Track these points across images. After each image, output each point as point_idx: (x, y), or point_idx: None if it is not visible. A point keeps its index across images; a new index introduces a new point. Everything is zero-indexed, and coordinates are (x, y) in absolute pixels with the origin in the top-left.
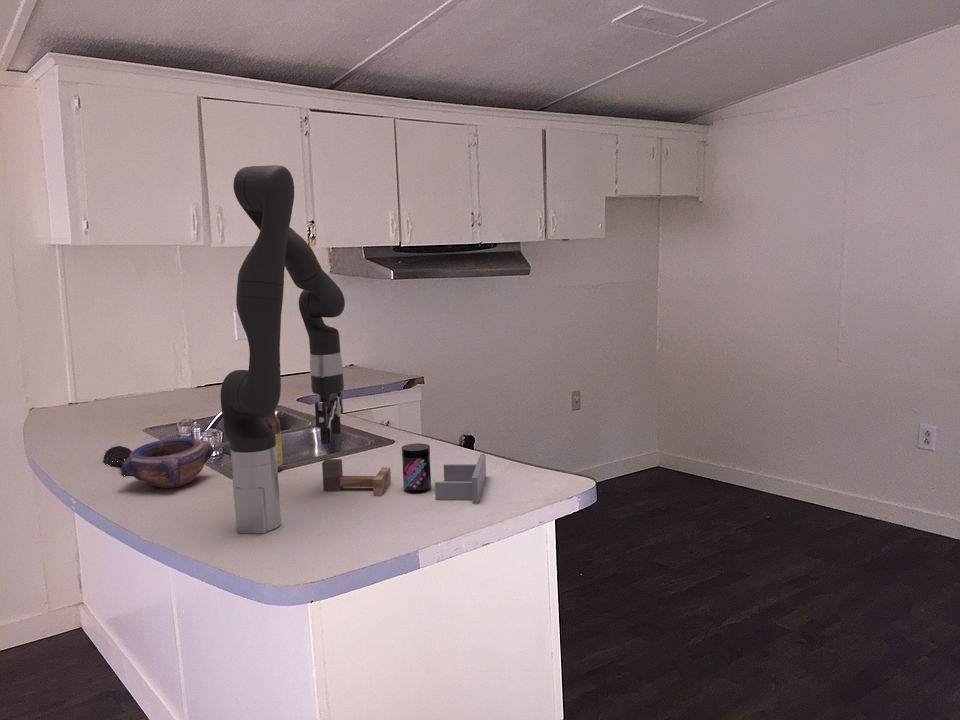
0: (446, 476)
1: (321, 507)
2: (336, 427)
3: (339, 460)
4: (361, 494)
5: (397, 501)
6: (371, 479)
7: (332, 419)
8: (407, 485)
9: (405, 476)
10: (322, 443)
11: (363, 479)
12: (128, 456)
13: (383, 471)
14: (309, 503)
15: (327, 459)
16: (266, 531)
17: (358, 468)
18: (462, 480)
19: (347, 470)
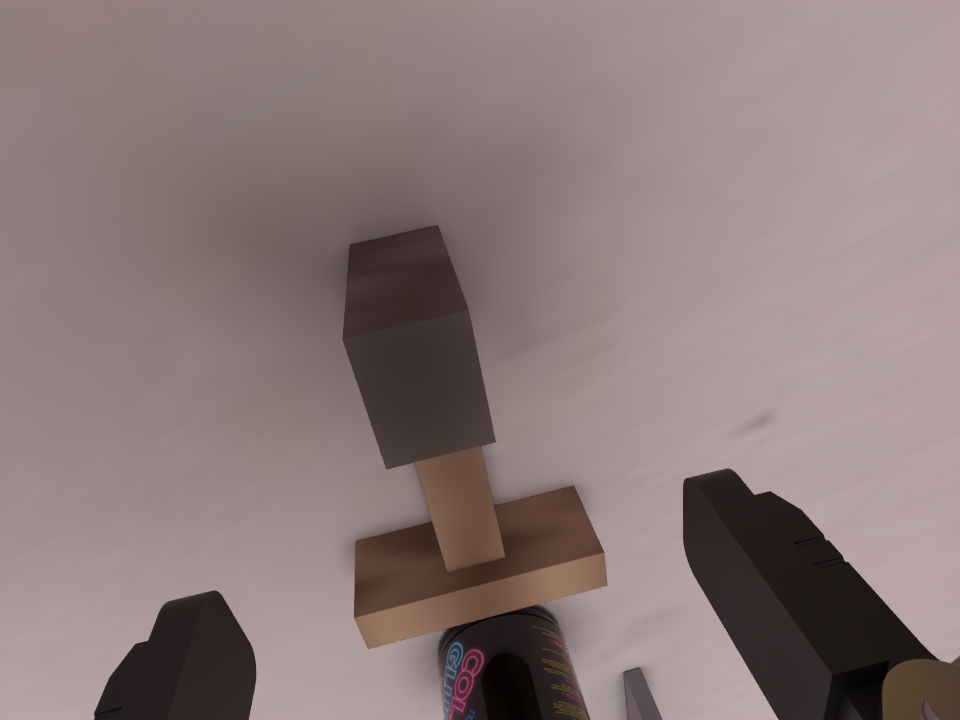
0: (632, 697)
1: (47, 398)
2: (735, 601)
3: (456, 442)
4: (361, 481)
5: (318, 650)
6: (441, 548)
7: (834, 695)
8: (445, 669)
9: (455, 705)
10: (174, 605)
11: (430, 512)
12: None
13: (526, 591)
14: (71, 286)
15: (463, 331)
16: None
17: (860, 228)
18: (628, 718)
19: (823, 174)
